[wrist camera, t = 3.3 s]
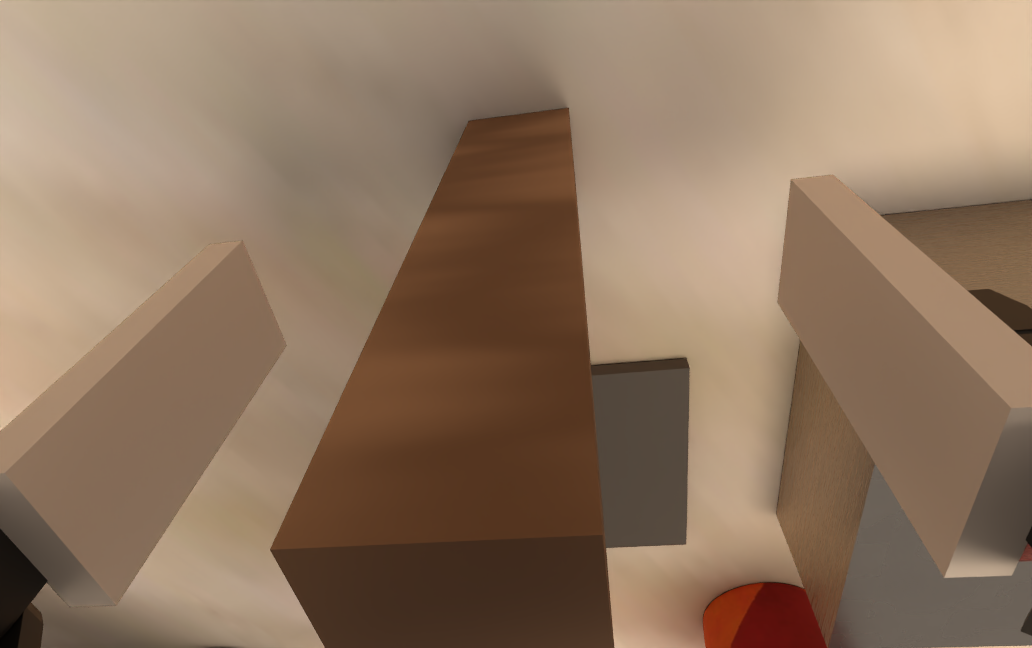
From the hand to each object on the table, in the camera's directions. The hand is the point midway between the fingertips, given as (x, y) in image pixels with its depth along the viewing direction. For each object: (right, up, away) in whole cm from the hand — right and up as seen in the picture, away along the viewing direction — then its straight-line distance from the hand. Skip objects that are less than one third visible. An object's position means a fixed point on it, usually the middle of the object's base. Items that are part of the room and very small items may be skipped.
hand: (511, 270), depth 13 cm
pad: (+2, -7, +13) cm, 15 cm away
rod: (0, +4, +6) cm, 7 cm away
